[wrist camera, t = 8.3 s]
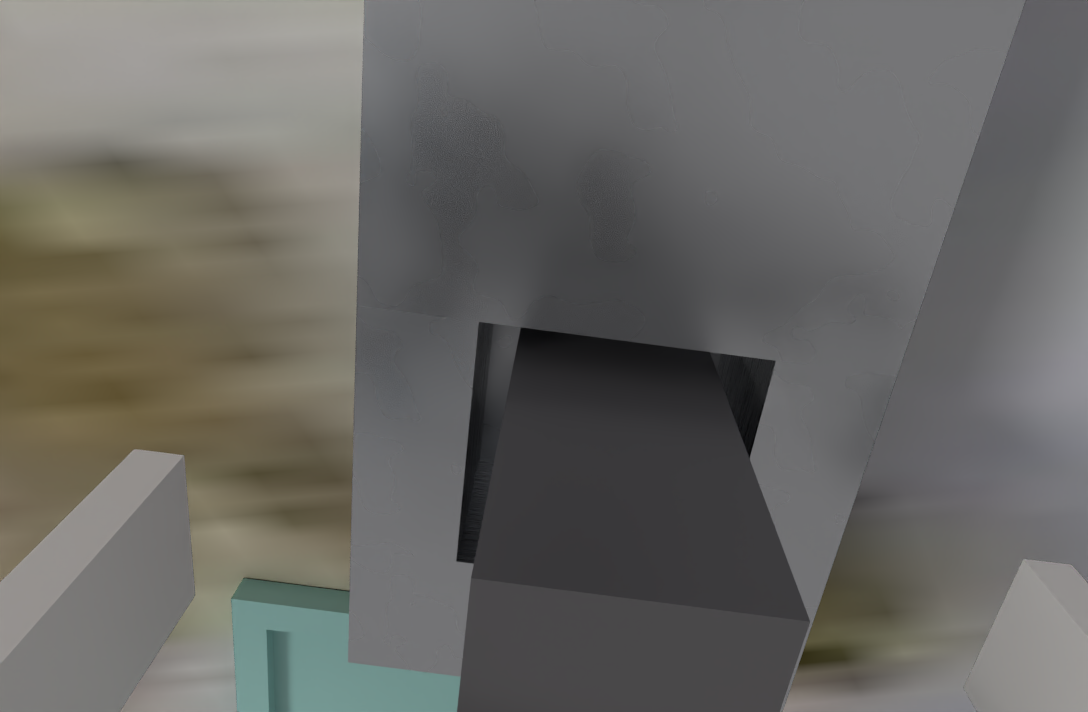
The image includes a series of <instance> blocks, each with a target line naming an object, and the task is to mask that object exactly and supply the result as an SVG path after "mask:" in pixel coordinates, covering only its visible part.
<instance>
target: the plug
mask: <svg viewBox="0 0 1088 712" xmlns="http://www.w3.org/2000/svg"><path fill="white" fill-rule="evenodd" d="M809 624H810V620H809V617H808V614H807V611H806V609H805V606H804V603H803V601H802V598H801V595H800V593H799V590H798V587H797V585H796V582H795V579H794V577H793V574H792V571H791V569H790V566H789V563H788V561H787V558H786V555H785V553H784V550H783V547H782V544H781V542H780V539H779V536H778V534H777V531H776V528H775V526H774V523H773V520H772V518H771V515H770V512H769V510H768V507H767V504H766V502H765V499H764V496H763V494H762V491H761V488H760V486H759V483H758V480H757V478H756V475H755V472H754V469H753V467H752V464H751V461H750V459H749V456H748V453H747V451H746V448H745V445H744V443H743V440H742V437H741V435H740V432H739V429H738V427H737V424H736V421H735V419H734V416H733V413H732V411H731V408H730V405H729V402H728V400H727V397H726V394H725V392H724V389H723V386H722V384H721V381H720V378H719V376H718V373H717V370H716V368H715V365H714V362H713V360H712V357H711V354H710V352H705V351H698V350H690V349H683V348H675V347H667V346H660V345H652V344H644V343H637V342H629V341H621V340H614V339H606V338H599V337H591V336H583V335H576V334H568V333H560V332H553V331H545V330H537V329H530V328H522V327H521V329H520V334H519V339H518V344H517V349H516V354H515V359H514V364H513V369H512V374H511V379H510V384H509V389H508V394H507V399H506V404H505V409H504V414H503V420H502V425H501V430H500V435H499V440H498V445H497V450H496V455H495V460H494V465H493V470H492V475H491V480H490V485H489V490H488V495H487V500H486V505H485V510H484V515H483V520H482V525H481V530H480V535H479V540H478V545H477V550H476V555H475V561H474V566H473V571H472V576H471V583H470V592H469V602H468V611H467V621H466V630H465V640H464V649H463V659H462V668H461V678H460V687H459V697H458V706H457V712H780V709H781V707H782V704H783V701H784V698H785V695H786V692H787V689H788V686H789V683H790V680H791V677H792V674H793V671H794V668H795V665H796V662H797V659H798V657H799V654H800V651H801V648H802V645H803V642H804V639H805V636H806V633H807V630H808V627H809Z"/></svg>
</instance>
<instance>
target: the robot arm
mask: <svg viewBox="0 0 1088 712" xmlns="http://www.w3.org/2000/svg"><path fill="white" fill-rule="evenodd" d="M194 596H195V586H194V573H193V561H192V548H191V535H190V523H189V510H188V497H187V485H186V472H185V459H184V455H178V454H170V453H162V452H154V451H146V450H138V449H134V450H133V451H132V452H131V453H130V454H129V455H128V456H127V457H126V458H125V459H124V460H123V461H122V462H121V463H120V464H119V465H118V466H117V467H116V468H115V469H114V470H113V471H112V472H111V473H110V474H109V475H108V476H107V477H106V478H105V479H104V480H103V481H102V482H101V483H100V484H99V485H98V486H97V487H96V488H95V489H94V490H93V491H92V492H91V493H90V494H89V495H88V496H87V497H86V498H85V499H84V500H82V501H81V502H80V503H79V504H78V505H77V506H76V507H75V508H74V509H73V510H72V511H71V512H70V513H69V514H68V515H67V516H66V517H65V518H64V519H63V520H62V521H61V522H60V523H59V524H58V525H57V526H56V527H55V528H54V529H53V530H52V531H51V532H50V533H49V534H48V535H47V536H46V537H45V538H44V539H43V540H42V541H41V542H40V543H39V544H38V545H37V546H36V547H35V548H34V549H33V550H32V551H31V552H30V553H29V554H28V555H27V556H26V557H25V558H24V559H23V560H22V561H21V562H20V563H19V564H18V565H17V566H16V567H15V568H14V569H13V570H12V571H11V572H10V573H9V574H8V575H7V576H6V577H5V578H4V579H3V580H2V581H1V582H0V712H120V710H121V709H122V707H123V706H124V704H125V703H126V701H127V700H128V698H129V696H130V695H131V693H132V692H133V690H134V689H135V687H136V686H137V684H138V683H139V681H140V680H141V678H142V676H143V675H144V673H145V672H146V670H147V669H148V667H149V666H150V664H151V663H152V661H153V660H154V658H155V656H156V655H157V653H158V652H159V650H160V649H161V647H162V646H163V644H164V643H165V641H166V640H167V638H168V636H169V635H170V633H171V632H172V630H173V629H174V627H175V626H176V624H177V623H178V621H179V620H180V618H181V616H182V615H183V613H184V612H185V610H186V609H187V607H188V606H189V604H190V603H191V601H192V600H193V598H194ZM963 688H964V690H965V692H966V694H967V695H968V697H969V699H970V700H971V702H972V704H973V706H974V707H975V709H976V711H977V712H1088V583H1087V581H1086V580H1085V579H1084V578H1083V577H1082V576H1081V575H1080V574H1079V573H1078V571H1077V570H1076V569H1075V568H1074V567H1073V566H1072V565H1070V564H1062V563H1054V562H1046V561H1037V560H1029V559H1023V561H1022V563H1021V565H1020V567H1019V569H1018V571H1017V573H1016V576H1015V578H1014V580H1013V582H1012V584H1011V586H1010V588H1009V591H1008V593H1007V595H1006V597H1005V599H1004V601H1003V604H1002V606H1001V608H1000V610H999V612H998V614H997V616H996V619H995V621H994V623H993V625H992V627H991V629H990V631H989V634H988V636H987V638H986V640H985V642H984V644H983V646H982V649H981V651H980V653H979V655H978V657H977V659H976V661H975V664H974V666H973V668H972V670H971V672H970V674H969V676H968V679H967V681H966V683H965V685H964V687H963Z"/></svg>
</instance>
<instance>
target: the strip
mask: <svg viewBox="0 0 1088 712" xmlns="http://www.w3.org/2000/svg"><path fill="white" fill-rule="evenodd" d="M1025 1H1026V0H364V36H363V76H362V116H361V156H360V196H359V236H358V276H357V317H356V357H355V397H354V437H353V477H352V517H351V557H350V597H349V637H348V662H349V663H357V664H365V665H373V666H381V667H388V668H396V669H404V670H412V671H420V672H428V673H435V674H443V675H451V676H459V677H461V668H462V659H463V649H464V640H465V630H466V621H467V611H468V602H469V592H470V583H471V576H472V571H473V566H474V561H475V555H476V550H477V545H478V540H479V535H480V530H481V525H482V520H483V515H484V510H485V505H486V500H487V495H488V490H489V485H490V480H491V475H492V470H493V465H494V460H495V455H496V450H497V445H498V440H499V435H500V430H501V425H502V420H503V414H504V409H505V404H506V399H507V394H508V389H509V384H510V379H511V374H512V369H513V364H514V359H515V354H516V349H517V344H518V339H519V334H520V329H521V327H522V328H530V329H537V330H545V331H553V332H560V333H568V334H576V335H583V336H591V337H599V338H606V339H614V340H621V341H629V342H637V343H644V344H652V345H660V346H667V347H675V348H683V349H690V350H698V351H705V352H710V354H711V357H712V360H713V362H714V365H715V368H716V370H717V373H718V376H719V378H720V381H721V384H722V386H723V389H724V392H725V394H726V397H727V400H728V402H729V405H730V408H731V411H732V413H733V416H734V419H735V421H736V424H737V427H738V429H739V432H740V435H741V437H742V440H743V443H744V445H745V448H746V451H747V453H748V456H749V459H750V461H751V464H752V467H753V469H754V472H755V475H756V478H757V480H758V483H759V486H760V488H761V491H762V494H763V496H764V499H765V502H766V504H767V507H768V510H769V512H770V515H771V518H772V520H773V523H774V526H775V528H776V531H777V534H778V536H779V539H780V542H781V544H782V547H783V550H784V553H785V555H786V558H787V561H788V563H789V566H790V569H791V571H792V574H793V577H794V579H795V582H796V585H797V587H798V590H799V593H800V595H801V598H802V601H803V603H804V606H805V609H806V611H807V614H808V617H809V620H810V624H809V627H808V630H807V633H806V636H805V639H804V642H803V645H802V648H801V651H800V654H799V657H798V659H797V662H796V665H795V668H794V671H793V674H792V677H791V680H790V683H789V686H788V689H787V692H786V695H785V698H784V701H783V704H782V707H781V709H780V712H782V711H783V708H784V706H785V703H786V700H787V697H788V694H789V691H790V688H791V685H792V682H793V679H794V676H795V673H796V670H797V668H798V665H799V662H800V659H801V656H802V653H803V650H804V647H805V644H806V641H807V638H808V635H809V632H810V630H811V627H812V624H813V621H814V618H815V615H816V612H817V609H818V606H819V603H820V600H821V597H822V594H823V592H824V589H825V586H826V583H827V580H828V577H829V574H830V571H831V568H832V565H833V562H834V559H835V556H836V554H837V551H838V548H839V545H840V542H841V539H842V536H843V533H844V530H845V527H846V524H847V521H848V518H849V516H850V513H851V510H852V507H853V504H854V501H855V498H856V495H857V492H858V489H859V486H860V483H861V480H862V478H863V475H864V472H865V469H866V466H867V463H868V460H869V457H870V454H871V451H872V448H873V445H874V442H875V440H876V437H877V434H878V431H879V428H880V425H881V422H882V419H883V416H884V413H885V410H886V407H887V404H888V402H889V399H890V396H891V393H892V390H893V387H894V384H895V381H896V378H897V375H898V372H899V369H900V366H901V364H902V361H903V358H904V355H905V352H906V349H907V346H908V343H909V340H910V337H911V334H912V331H913V328H914V326H915V323H916V320H917V317H918V314H919V311H920V308H921V305H922V302H923V299H924V296H925V293H926V290H927V288H928V285H929V282H930V279H931V276H932V273H933V270H934V267H935V264H936V261H937V258H938V255H939V252H940V250H941V247H942V244H943V241H944V238H945V235H946V232H947V229H948V226H949V223H950V220H951V217H952V214H953V212H954V209H955V206H956V203H957V200H958V197H959V194H960V191H961V188H962V185H963V182H964V179H965V176H966V174H967V171H968V168H969V165H970V162H971V159H972V156H973V153H974V150H975V147H976V144H977V141H978V138H979V136H980V133H981V130H982V127H983V124H984V121H985V118H986V115H987V112H988V109H989V106H990V103H991V100H992V98H993V95H994V92H995V89H996V86H997V83H998V80H999V77H1000V74H1001V71H1002V68H1003V65H1004V62H1005V60H1006V57H1007V54H1008V51H1009V48H1010V45H1011V42H1012V39H1013V36H1014V33H1015V30H1016V27H1017V24H1018V22H1019V19H1020V16H1021V13H1022V10H1023V7H1024V4H1025Z"/></svg>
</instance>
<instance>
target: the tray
mask: <svg viewBox="0 0 1088 712" xmlns="http://www.w3.org/2000/svg"><path fill="white" fill-rule="evenodd" d="M349 597H350V592H348V591H340V590H333V589H325V588H317V587H309V586H301V585H294V584H286V583H278V582H270V581H262V580H255V579H247V578H243V580H242V582H241V583H240V585H239V587H238V588H237V590H236V592H235V593H234V595H233V597H232V598H231V604H232V623H233V641H234V659H235V678H236V696H237V712H457V706H458V697H459V687H460V678H461V677H459V676H451V675H443V674H435V673H428V672H420V671H412V670H404V669H396V668H388V667H381V666H373V665H365V664H357V663H349V662H348V637H349Z"/></svg>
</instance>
